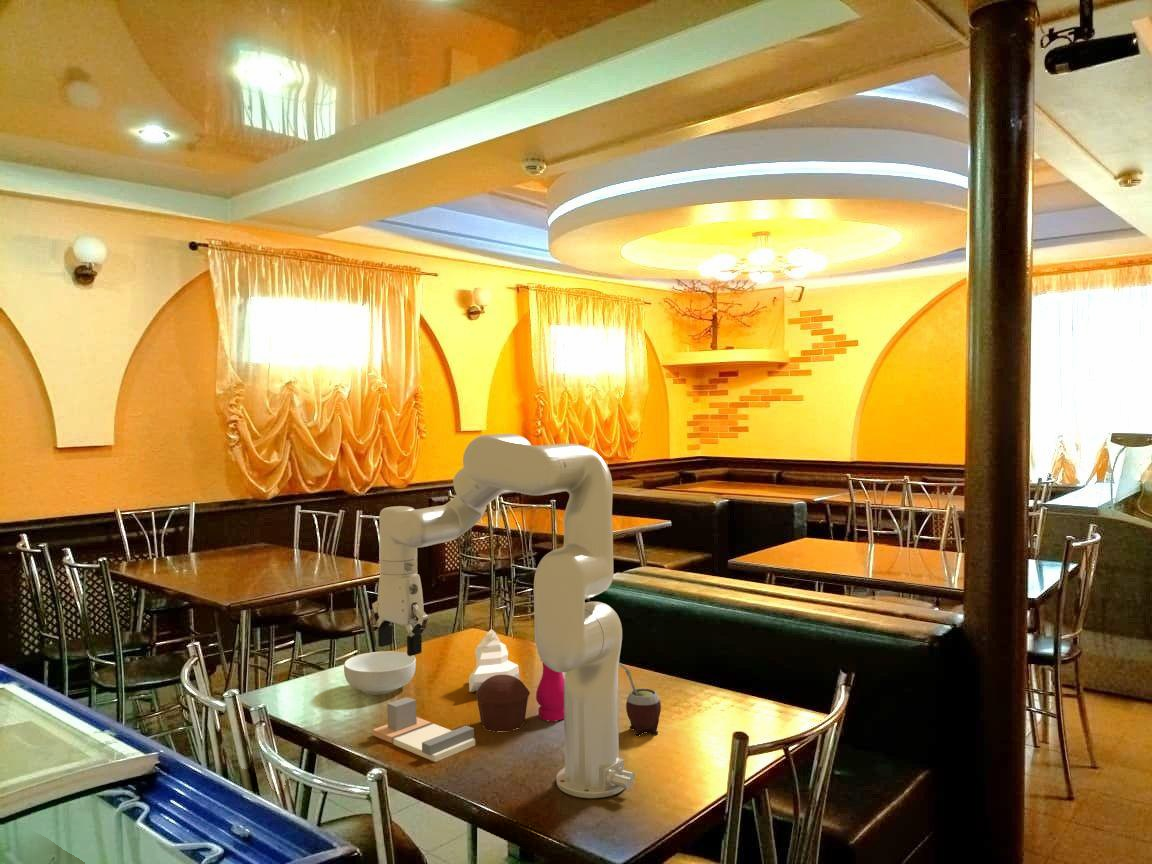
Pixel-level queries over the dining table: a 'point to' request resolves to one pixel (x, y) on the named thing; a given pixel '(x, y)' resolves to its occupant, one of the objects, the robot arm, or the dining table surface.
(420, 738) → the base
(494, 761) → the dining table surface
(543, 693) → the pepper mill
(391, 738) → the pink base grey block
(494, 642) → the soft serve ice cream
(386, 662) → the cereal bowl
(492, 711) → the muffin
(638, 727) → the mate gourd
